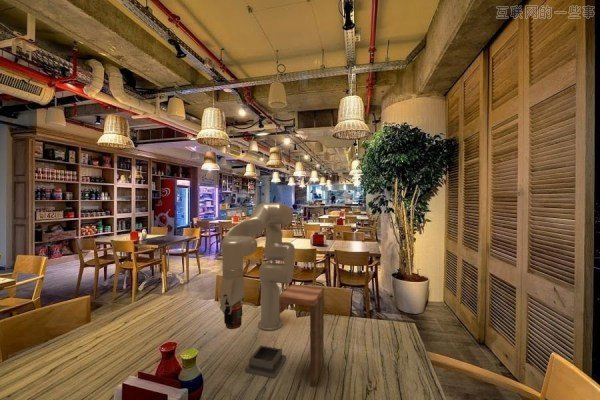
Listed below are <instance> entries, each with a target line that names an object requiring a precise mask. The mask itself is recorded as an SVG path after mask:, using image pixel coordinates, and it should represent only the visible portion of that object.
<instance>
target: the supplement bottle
mask: <svg viewBox="0 0 600 400" xmlns="http://www.w3.org/2000/svg"><path fill="white" fill-rule="evenodd" d="M227 304H228V305H229V303H227ZM227 309H228V310H229V307H228V306H227ZM231 313H233V324H232V325H229V324H225V328H226V329H228V330H236V329H239V328H241V326H242V324H243V323H242V321H243V320H242V318H243V316H241V302H240V301H238V302H237V303H236V304H234V305H233V307H232V312H231Z"/></svg>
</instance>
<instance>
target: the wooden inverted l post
mask: <svg viewBox="0 0 600 400" xmlns="http://www.w3.org/2000/svg"><path fill="white" fill-rule="evenodd" d="M324 297H325V296H324V287H323V286H313V285H312V286H311V285H305V284H304V285H303V284H293V283H292V284H291V285H290V286H288V288H287V289H285V290H284V292H282V293H281V294H280V296H279V313H281V314H282V313H284V311H285V310H286V309H287V308H288V307H289V306H290V305H291V304H292V305H293V304H294V305H299V306H306V307H307V306H308V307H309V309H310V310H309V315H310V316H309V319H310V321H309V322H310V324H309V326H310V328H309V329H310V331H309V332H310V333H309V335H310V336H309V339H310V346H309V347H310V351H309V352H310V354H309V355H310V358H309V359H310V361H309V362H310V367H309V368H310V370H309V371H310V373H309V375H310V378H309V379H310V388H311V387H312V388H315V387H316V385H317V382H318V379H319V377H320V375H321V371H322V369H323V366H324V363H325V359H324V354H325V353H324V352H325V350H324V349H325V347H324V343H325V342H324V338H325V337H324V335H325V333H324V329H325V326H324V321H325V319H324V313H325V312H324V310H325V308H324V303H325V301H324Z"/></svg>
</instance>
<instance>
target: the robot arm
mask: <svg viewBox="0 0 600 400" xmlns="http://www.w3.org/2000/svg"><path fill="white" fill-rule="evenodd" d="M293 220H294V213H293V210H292V209H291V208H290V206H288V205H285V204H284V203H281V202H262V203H259V204H258V205H257V206H256V208H255V209H254V211H253V212H252V214H251V215H250V216H249V217H248V218H247V219H245V220H243V221H241V222H239V223H237V224H235V225H233V226H232V227H230V229H229V230H228V232H226V234H225V235H224V237H223V238H222V240H221V244H220V245H221V246H220V247H221V251H222V253H221V254H222V257H221V258H222V261H221V262H222V278H221V282H220V291H219V293H220V295H219V303H220V306H219V309H220V310H221V312H222V313H223V315H224V316H223V320H224V321H223V324H225V325H226V324H229V325H232V324H233V313H231V312H232V307H233V305H234V304H236V303H237V302H238V301H240V302H241V317H243V305H244V299H245V298H244V297H245V295H246V291H245V281H244V280H245V279H244V257H248V256H252V255H253V254H254V253H256V251H257V249H258V242H257V240H256V238H255V237H252V236H254V235H258V234H261V233H262V232H264V231H266V232H265V233H266V234H265V244H264V253H263V255H264V257H265V259H267V260H269V261H278V262H279V261H280V262H283V263H278V262H263V263H262V264H261V265H260V266H259V269H258V278H259V283H260V320H259V321H258V322H257V327H258V328H259V329H261V330H263V331H274V330H278V329H280V328H282V327H283V325H284V321H283V320H282V319H281V316H280V315H281V314H282V313H279V296H280V295H281V294H280V287H279V285H278V284H286V285H287V284H290V283H291V282H292V280H293V277H294V268H295V259H296V258H295V257H296V250H295V245H294V244H293V243H291V242H287V241H285V242H284V241H283V230H282V228H281V227H280V226H279V225H289V224H291V223H292V221H293ZM227 303H229V305H228V304H227ZM227 306H228V307H229V310H228V309H227Z"/></svg>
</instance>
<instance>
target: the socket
mask: <svg viewBox="0 0 600 400" xmlns="http://www.w3.org/2000/svg"><path fill="white" fill-rule="evenodd" d="M248 361H249V362H248V364H247V365H246V366H245V367H244V372H245V373H247V374H251V375H257V376H261V377H266V378H270V379H276V376H277V375H278V374H279V372H280V370H281V368H282V367H283V365H284V364H285V361H287V355H285V354H283V349H282V348H277V347H271V346H266V345H259V346H258V348H257V349H256V350H255V351H254V352H253V353H252V355H251V356H250V357H249V358H248Z"/></svg>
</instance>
